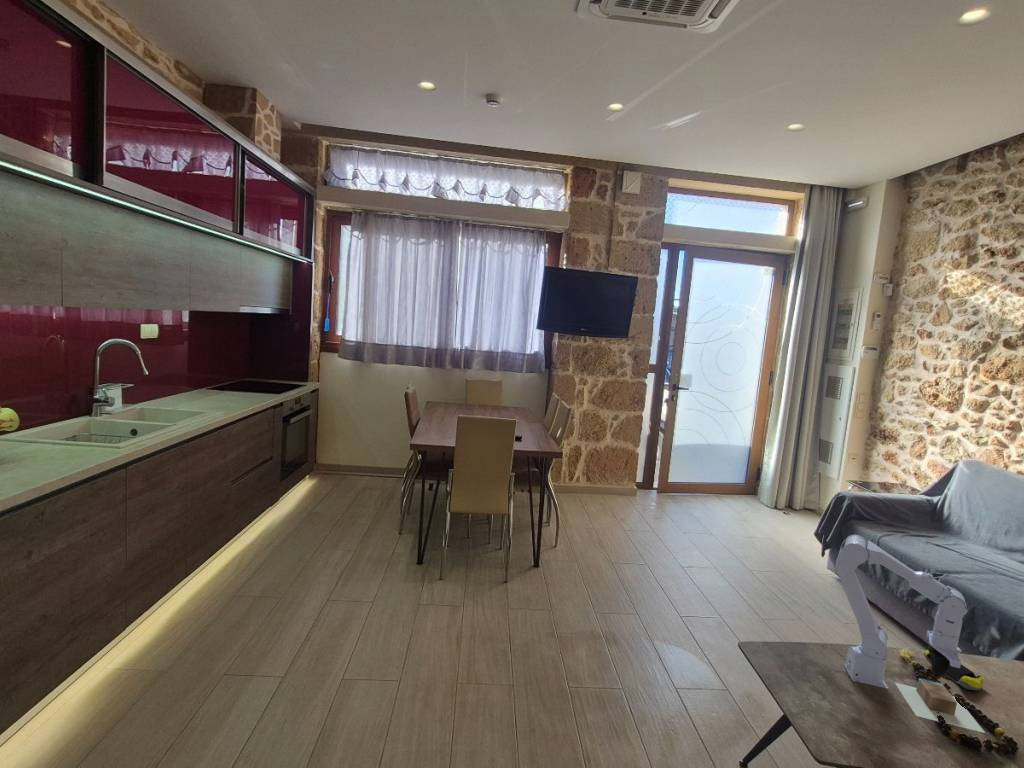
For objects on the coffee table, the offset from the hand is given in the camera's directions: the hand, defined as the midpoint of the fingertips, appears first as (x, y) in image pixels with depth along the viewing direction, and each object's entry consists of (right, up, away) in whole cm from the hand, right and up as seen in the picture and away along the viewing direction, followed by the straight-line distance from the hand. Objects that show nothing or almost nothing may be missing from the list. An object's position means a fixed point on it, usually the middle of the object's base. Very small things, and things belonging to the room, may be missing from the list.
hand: (937, 674), depth 146 cm
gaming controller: (+16, -9, +13) cm, 23 cm away
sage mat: (-1, -10, -1) cm, 9 cm away
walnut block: (-1, -7, -3) cm, 8 cm away
